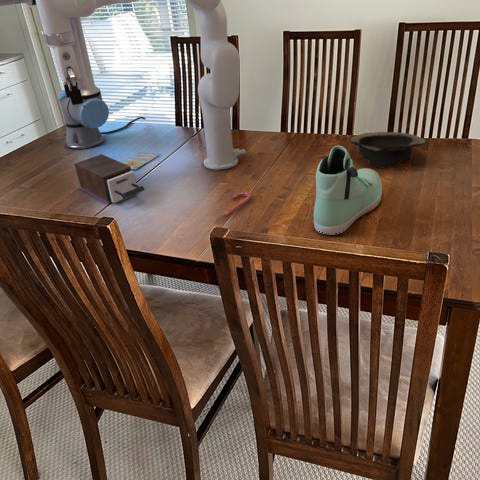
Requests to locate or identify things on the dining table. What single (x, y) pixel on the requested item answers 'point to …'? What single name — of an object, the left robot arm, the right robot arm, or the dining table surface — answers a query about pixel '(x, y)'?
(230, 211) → the candy cane
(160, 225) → the dining table surface
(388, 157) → the stone bowl
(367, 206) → the sneaker
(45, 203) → the dining table surface
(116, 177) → the drawer
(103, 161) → the taupe rectangular box
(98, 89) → the left robot arm
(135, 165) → the baking ingredient package
